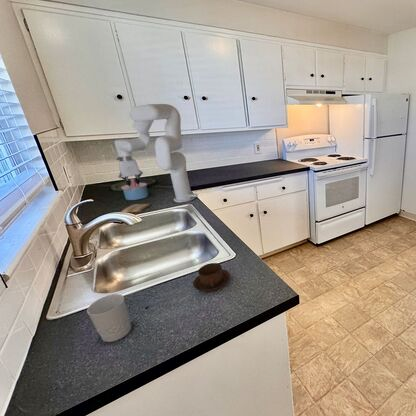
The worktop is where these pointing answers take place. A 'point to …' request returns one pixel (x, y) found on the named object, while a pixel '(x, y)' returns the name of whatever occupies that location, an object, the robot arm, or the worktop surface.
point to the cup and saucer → (211, 277)
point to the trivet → (136, 208)
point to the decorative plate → (118, 185)
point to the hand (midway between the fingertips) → (133, 184)
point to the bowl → (136, 193)
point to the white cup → (110, 317)
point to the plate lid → (133, 185)
